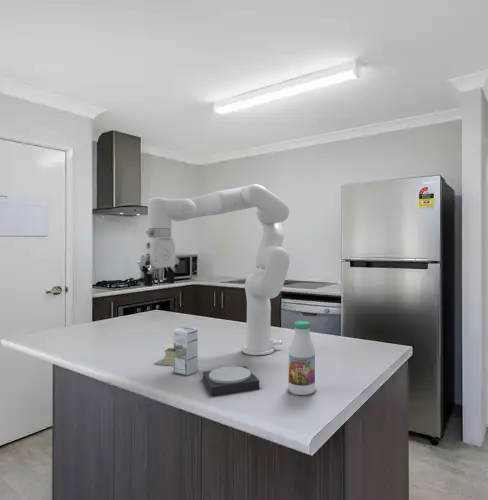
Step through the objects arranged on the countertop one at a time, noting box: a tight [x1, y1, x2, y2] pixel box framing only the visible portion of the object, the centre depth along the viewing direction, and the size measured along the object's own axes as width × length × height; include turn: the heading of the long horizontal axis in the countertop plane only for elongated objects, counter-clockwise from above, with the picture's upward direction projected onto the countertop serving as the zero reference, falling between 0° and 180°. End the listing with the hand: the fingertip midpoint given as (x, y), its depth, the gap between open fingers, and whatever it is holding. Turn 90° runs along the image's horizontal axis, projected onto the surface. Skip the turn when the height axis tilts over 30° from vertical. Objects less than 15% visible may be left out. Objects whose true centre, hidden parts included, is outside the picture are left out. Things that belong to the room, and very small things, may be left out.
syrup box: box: [173, 326, 199, 376], centre depth 122 cm, size 6×6×14 cm
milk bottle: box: [288, 320, 316, 396], centre depth 107 cm, size 8×8×20 cm
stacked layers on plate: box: [156, 342, 174, 366], centre depth 134 cm, size 10×9×6 cm
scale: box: [202, 365, 260, 397], centre depth 112 cm, size 14×14×3 cm
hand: (159, 284), depth 125 cm, fingers open, 9 cm apart
